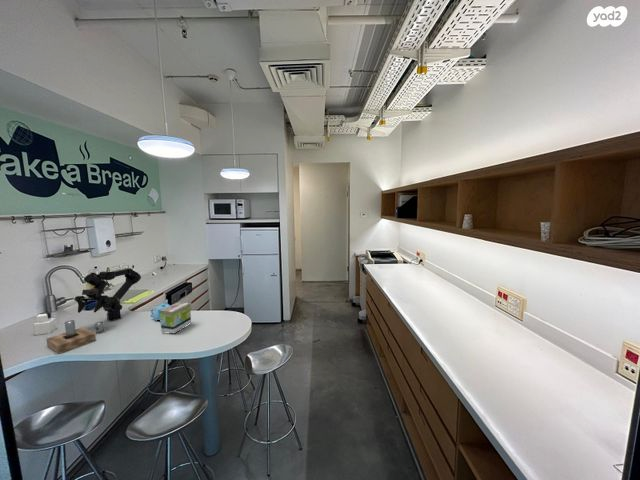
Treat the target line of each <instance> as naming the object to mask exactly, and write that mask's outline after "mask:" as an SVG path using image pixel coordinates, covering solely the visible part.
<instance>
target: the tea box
mask: <svg viewBox="0 0 640 480" xmlns="http://www.w3.org/2000/svg"><path fill="white" fill-rule="evenodd" d="M191 314H192V313H191V303H188V302H176V303H173V304H170V306H169V307H167V308H165V309H163V310H160V317H161V321H160V332H169V333H175V332H177V331H179V330H180V329H182V328H183V327H185V326H186V325H188V324H189V323H191V324H192V318H191V317H192V315H191ZM185 328H186V327H185ZM182 330H183V329H182ZM180 331H181V330H180ZM180 331H179V332H180ZM177 333H178V332H177Z"/></svg>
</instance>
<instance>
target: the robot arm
mask: <svg viewBox="0 0 640 480" xmlns="http://www.w3.org/2000/svg"><path fill="white" fill-rule="evenodd" d="M121 276H124V277H125V282H124V283H123V284H122V285H121V287H119V289H118V290H117V291H116V292H115V293H114V295H113V296H108V295H106V294H105V291H104V290H105V288H106V287H108V286H110V283H109V281H112V280H114V279H115V278H117V277H121ZM141 278H142V276H141V274H140V273H139V272H137V271H135V270H134V269H133V268H132V267H131V268H129V267H127V268H121V269H117V270H113V271H111V270H110V271H109V270H108V271H107V270H106V271H104V270H103V271H100V272H99V273H98V274H97V273H96V272H90V273H89V274H87V275H86V276H84V278H83V281H84V282H85V283H87V284H89V286H92V287H93V288H90V289H82V290H81V291H82V292H81V295H76V296H75V297H74V298H73V300H74V301H75V302H76V303H77V313H79V314H80V313H81V312H82V311H83V309H84V308H85V307H86V306H87V303H88V302H91V301H92V302H93V301H95V302H97V304H96V305H95V307H94V311H93V313H97V312H98V311H99V310H100V309H101V308H102V309H103V310H104V312H106V320H108V321H110V322H112V321H115V320H119V319H122V318H123V317H122V316H121V311H122V309H123V305H122V304H121V299H122V298H123V297H124V296H125V294H126V293H127V292H128V291H129V289H130V288H131V287H132V286H133V285H135V284H137V283H138V282H139V281H140V280H141ZM85 296H86V297H85Z"/></svg>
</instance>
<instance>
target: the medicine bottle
mask: <svg viewBox="0 0 640 480" xmlns="http://www.w3.org/2000/svg"><path fill="white" fill-rule="evenodd" d="M57 328H58V327H57V322H56V317H54V318H53V317H52V314H51V312H50V311H45V312H41V313H39V314H36V322H35V323H33V331H34V335H35V336H40V334H41V335H46V334H47V335H48V334H51V333H52V332H53V331H55V330H56V329H57Z"/></svg>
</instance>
